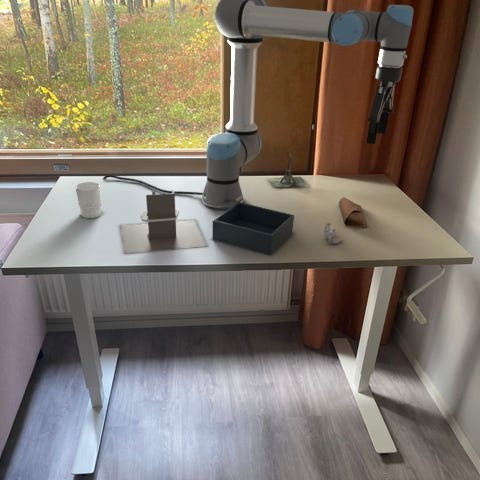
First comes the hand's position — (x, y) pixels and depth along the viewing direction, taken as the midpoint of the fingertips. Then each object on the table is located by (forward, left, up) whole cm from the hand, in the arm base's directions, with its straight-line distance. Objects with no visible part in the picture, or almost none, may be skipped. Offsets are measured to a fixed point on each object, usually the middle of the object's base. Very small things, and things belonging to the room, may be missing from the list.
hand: (376, 138), depth 164 cm
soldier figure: (-4, -22, -28) cm, 36 cm away
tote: (-27, -33, -28) cm, 51 cm away
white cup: (-82, -47, -28) cm, 99 cm away
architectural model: (-52, -48, -28) cm, 76 cm away
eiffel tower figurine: (-36, +18, -28) cm, 49 cm away
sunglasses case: (-3, 0, -28) cm, 28 cm away
